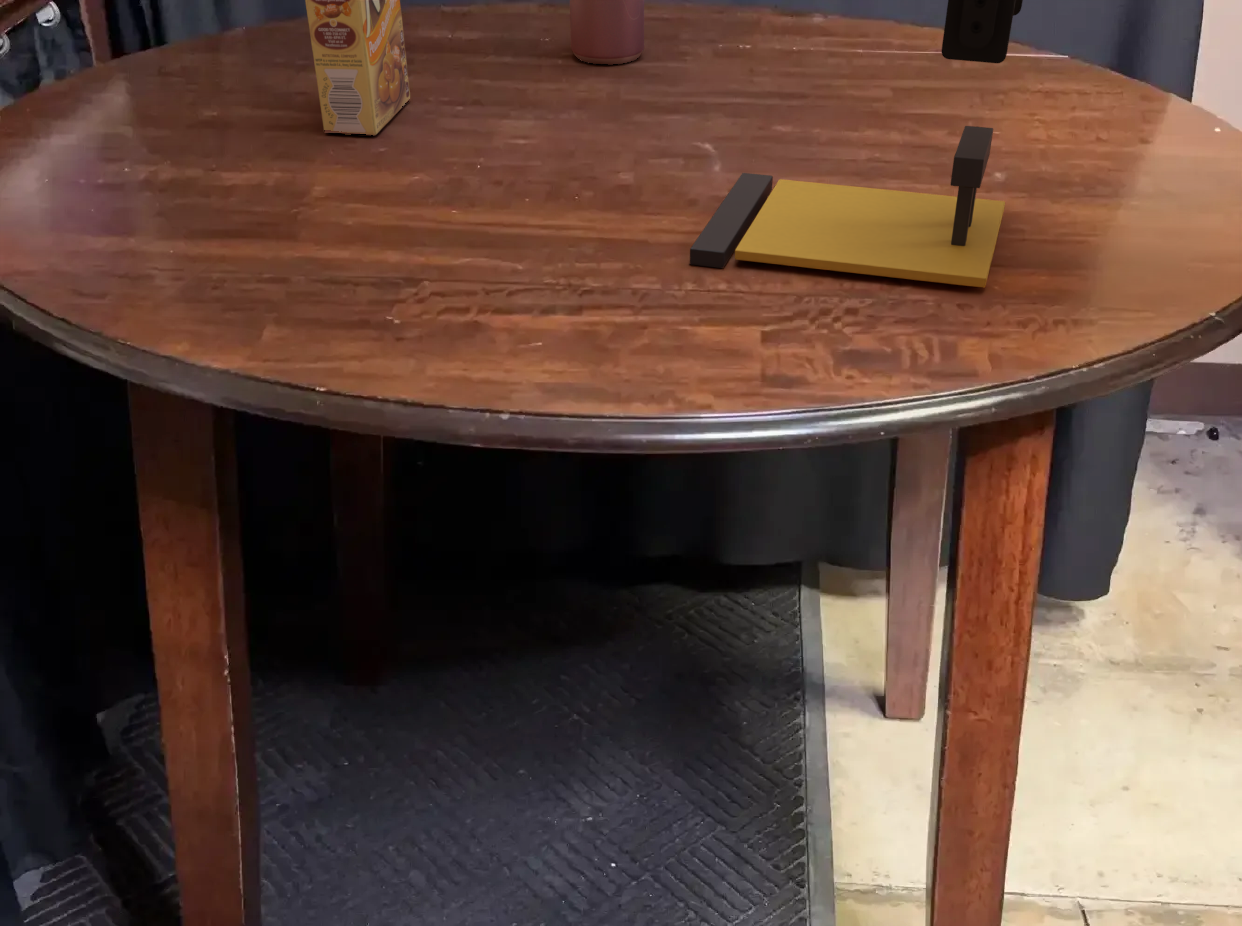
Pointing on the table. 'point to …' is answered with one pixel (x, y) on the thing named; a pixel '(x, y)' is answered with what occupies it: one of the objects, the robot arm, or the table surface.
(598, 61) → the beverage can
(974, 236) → the sign
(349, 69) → the candy box
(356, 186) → the table surface
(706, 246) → the bar
